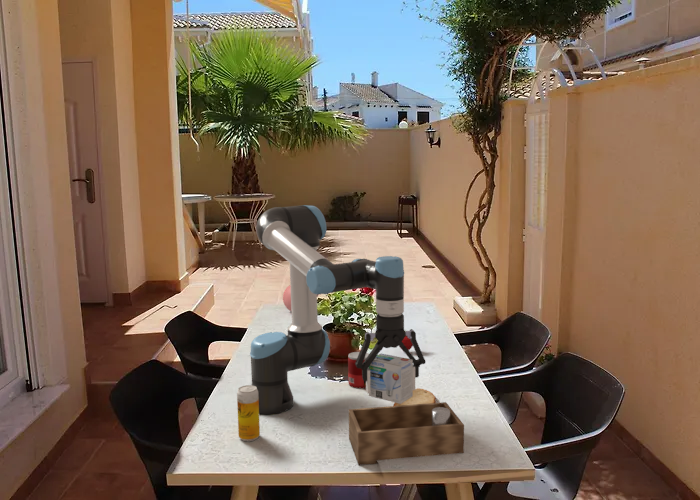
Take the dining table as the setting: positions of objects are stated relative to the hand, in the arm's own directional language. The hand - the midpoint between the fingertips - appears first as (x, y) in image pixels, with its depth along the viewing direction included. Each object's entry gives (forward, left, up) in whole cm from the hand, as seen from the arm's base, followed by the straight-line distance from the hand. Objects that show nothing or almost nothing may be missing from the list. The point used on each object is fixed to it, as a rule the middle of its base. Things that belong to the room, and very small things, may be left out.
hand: (390, 390), depth 177 cm
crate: (+4, 0, -17) cm, 17 cm away
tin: (+14, 0, -16) cm, 21 cm away
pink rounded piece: (-11, +157, -17) cm, 158 cm away
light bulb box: (0, 0, -2) cm, 2 cm away
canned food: (0, +50, -17) cm, 53 cm away
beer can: (-39, +14, -17) cm, 45 cm away
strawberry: (+25, +82, -17) cm, 87 cm away
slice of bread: (+14, +28, -18) cm, 36 cm away
